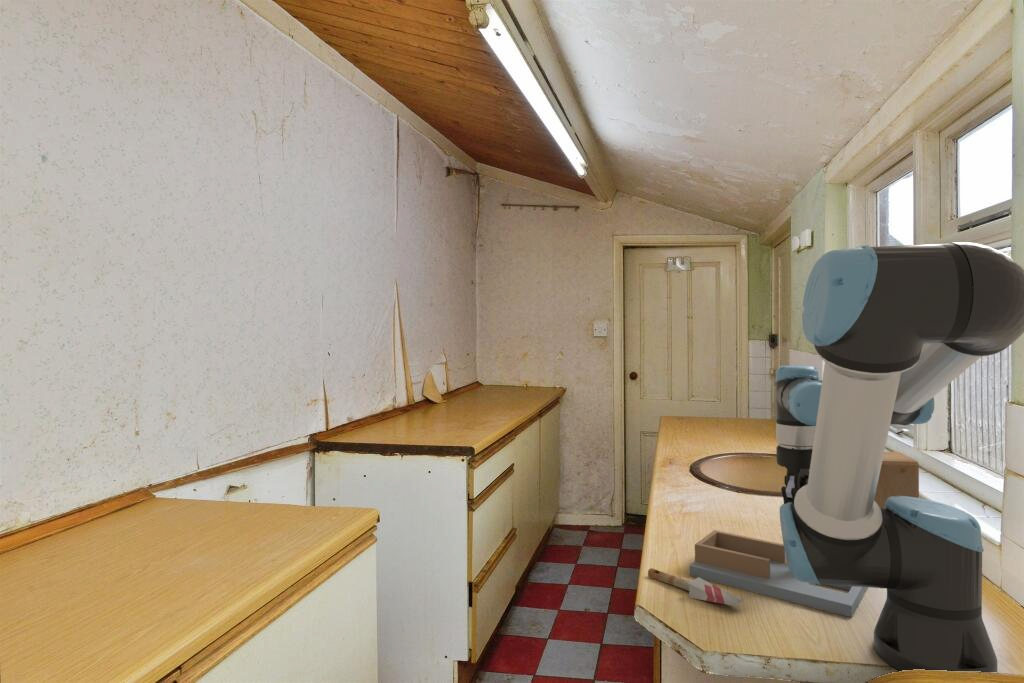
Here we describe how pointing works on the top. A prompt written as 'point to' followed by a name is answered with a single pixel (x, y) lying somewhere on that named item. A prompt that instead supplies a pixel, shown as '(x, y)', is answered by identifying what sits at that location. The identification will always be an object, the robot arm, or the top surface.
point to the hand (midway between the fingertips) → (798, 566)
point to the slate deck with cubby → (765, 572)
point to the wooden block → (897, 478)
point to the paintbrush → (697, 588)
